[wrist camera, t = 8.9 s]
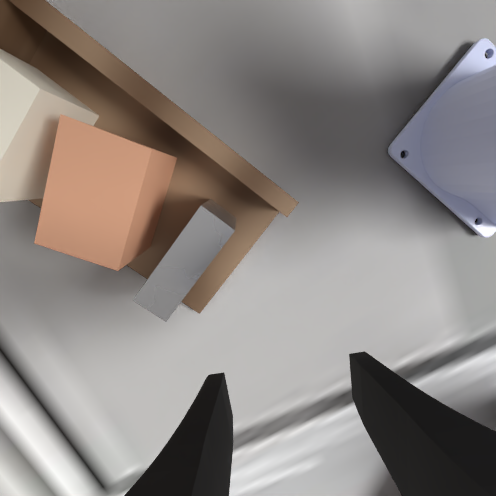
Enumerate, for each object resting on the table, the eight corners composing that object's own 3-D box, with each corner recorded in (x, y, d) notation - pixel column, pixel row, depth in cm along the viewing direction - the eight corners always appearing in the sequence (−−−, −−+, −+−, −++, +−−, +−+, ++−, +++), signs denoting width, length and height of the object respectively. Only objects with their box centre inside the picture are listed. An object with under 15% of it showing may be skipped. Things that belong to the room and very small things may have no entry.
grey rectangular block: (236, 218, 18) (234, 230, 13) (183, 288, 19) (166, 321, 14) (210, 198, 17) (200, 205, 13) (158, 271, 18) (132, 300, 14)
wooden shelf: (287, 198, 18) (312, 207, 12) (200, 309, 20) (182, 370, 14) (38, 0, 16) (-104, -126, 9) (-39, 150, 17) (-204, 133, 11)
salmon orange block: (177, 157, 17) (152, 149, 12) (150, 247, 18) (117, 271, 14) (112, 133, 17) (60, 113, 12) (90, 226, 18) (33, 243, 13)
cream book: (99, 115, 16) (40, 88, 12) (50, 197, 17) (-24, 204, 13) (37, 68, 16) (-54, 19, 11) (-11, 156, 17) (-113, 147, 12)
